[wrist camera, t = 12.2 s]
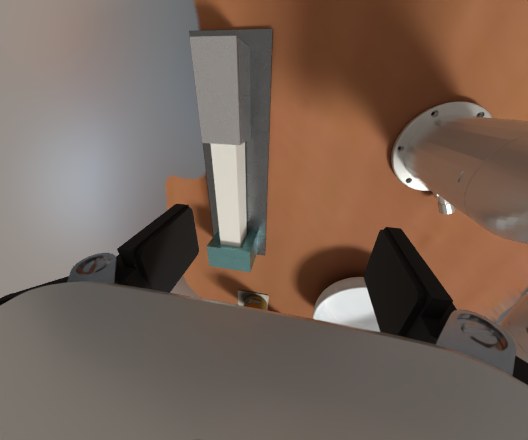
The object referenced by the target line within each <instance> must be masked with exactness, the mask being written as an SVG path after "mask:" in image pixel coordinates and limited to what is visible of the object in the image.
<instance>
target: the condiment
mask: <svg viewBox="0 0 528 440" xmlns="http://www.w3.org/2000/svg"><path fill="white" fill-rule="evenodd" d="M268 298H269V296H267V295H263V294H258V293H250V292H246V291H239V290H238V305H241V306H246V307H251V308H257V309H262V310H268Z"/></svg>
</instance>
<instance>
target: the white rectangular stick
mask: <svg viewBox="0 0 528 440" xmlns="http://www.w3.org/2000/svg"><path fill="white" fill-rule="evenodd" d="M210 144H211V154H212V164H213V173H214V183H215V193H216V203H217V213H218V223H219V233H220V243H221V245H226V246H233V247H240V248H241V247H242V245H243V243H244V241H245V239H246V236H247V217H246V171H245V142H244V143H243V144H241V145H228V144H212V143H210Z"/></svg>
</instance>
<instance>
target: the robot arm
mask: <svg viewBox="0 0 528 440" xmlns="http://www.w3.org/2000/svg"><path fill="white" fill-rule="evenodd" d="M432 112H433V115H431V113H432ZM477 114H478V115H477ZM476 115H477V116H476ZM399 146H400V149H398V147H399ZM391 164H392V169H393V171H394V174H395V175H396V177H397V178H398V179H399V180H400V181H401V182H402V183H403V184H405V185H406V186H408V187H410V188H413V189H415V190H421V191H432V192H433V195H434V197H436V198H438V207H439V212H440V213H441V214H451V213H453V212H455V208H457V209H458V210H460V211H461V212H462V213H464V214H465V215H467V216H468V217H469V218H471V219H472V220H473V221H475V222H476V223H478V224H479V225H480V226H482V227H483V228H485V229H486V230H488V231H490V232H491V233H493V234H495V235H497V236H500V237H502V238H505V239H508V240H512V241H516V242H520V243H527V244H528V121H521V120H510V119H498V118H492V116H491V114H490V113H489V112H488V111H487V110H486V109H485V108H483V107H481V106H479V105H477V104H474V103H470V102H448V103H444V104H440V105H437V106H434V107H432V108H429V109H427V110H426V111H424V112H422V113H421V114H419V115H418V116H416V117H415V118H414V119H413V120H411V121H410V122H409V123H408V124H407V125H406V126H405V128H404V129H403V130H402V131H401V133H400V134H399V136H398V137H397V139H396V141H395V143H394V146H393V150H392V153H391ZM407 178H408V180H406V179H407ZM117 250H118V252H119V255H118V256H117V257H116V256H115V255H113V254H110V253H100V254H95V255H92V256H89V257H87V258H85V259H83V260H81V261H80V262H78V263H77V264H76V265H75V266H74V267H73V268H72V270H71V272H70V275H69V276H68V277H65V278H62V279H58V280H55V281H52V282H48V283H45V284H42V285H39V286H36V287H32V288H29V289H26V290H23V291H19V292H16V293H12V294H9V295H6V296H4V297H2V298H0V440H528V292H527V293H526V294H525V295H524V296H523V297H522V298H521V299H520V301H519V302H518V303H517V304H516V305H515V306H514V307H513V308H512V309H511V310H510V312H509V313H508V314H507V315H506V316H505V318H504V319H503V320H502V322H501V323H500V324H499V326H498V325H497V324H496V323H494V322H493V321H491V320H490V319H488V318H486V317H484V316H482V315H480V314H478V313H475V312H472V311H469V310H461V309H459V310H457V309H456V308H455V306H454V305H453V303H452V302H453V300H452V299H451V297H450V296H449V294H448V293H447V292H446V290H445V289H444V287H443V286H442V285H441V283H440V282H439V281H438V279H437V278H436V276H435V275H434V274H433V272H432V271H431V270H430V268H429V267H428V265H427V264H426V263H425V261H424V260H423V258H422V257H421V256H420V254H419V253H418V252H417V250H416V249H415V247H414V246H413V245H412V243H411V242H410V240H409V239H408V238H407V236H406V235H405V234H404V232H403V231H402V230H401V229H399V228H390V227H386V228H385V229H384V230H380V232H379V234H378V237H377V240H376V242H375V245H374V248H373V251H372V253H371V256H370V259H369V262H368V264H367V267H366V270H365V273H364V281H365V284H366V287H367V290H368V294H369V297H370V300H371V303H372V307H373V310H374V313H375V316H376V320H377V323H378V326H379V329H380V332H378V331H373V330H368V329H363V328H358V327H353V326H348V325H342V324H337V323H332V322H326V321H321V320H316V319H311V318H305V317H300V316H295V315H289V314H284V313H279V312H273V311H268V310H262V309H257V308H251V307H246V306H241V305H235V304H230V303H224V302H219V301H213V300H208V299H202V298H196V297H190V296H185V295H179V294H174V293H170V291H171V290H172V289H173V288H174V286H175V285H176V283H177V282H178V281H179V279H180V278H181V277H182V275H183V274H184V273H185V271H186V270H187V269H188V267H189V266H190V264H191V263H192V262H193V260H194V259H195V258H196V256H197V255H198V252H199V247H198V241H197V235H196V229H195V223H194V217H193V211H192V209H191V208H190V207H189V206H188V205H184V204H175V205H174V206H173V207H171V208H170V209H169V210H167V211H166V212H165V213H164V214H162V215H161V216H160V217H158V218H157V219H156V220H154V221H153V222H152V223H151V224H149V225H148V226H146V227H145V228H144V229H143V230H141V231H140V232H139V233H137V234H136V235H135V236H133V237H132V238H131V239H130V240H128V241H127V242H126V243H124V244H123V245H122V246H120V247H119V248H118V249H117Z"/></svg>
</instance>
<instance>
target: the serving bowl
mask: <svg viewBox="0 0 528 440" xmlns="http://www.w3.org/2000/svg"><path fill="white" fill-rule="evenodd" d="M313 319H316V320H321V321H326V322H332V323H337V324H342V325H348V326H353V327H358V328H363V329H368V330H373V331H378V332H380V329H379V326H378V323H377V320H376V316H375V313H374V310H373V307H372V303H371V300H370V297H369V294H368V290H367V287H366V284H365V281H364V277H352V278H347V279H343V280H340V281H338V282H335V283H333V284H332V285H330V286H329V287H327V288H326V289H325V290H324V291H323V292H322V293H321V294H320V296H319V297H318V299H317V301H316V304H315V307H314V312H313Z"/></svg>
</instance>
